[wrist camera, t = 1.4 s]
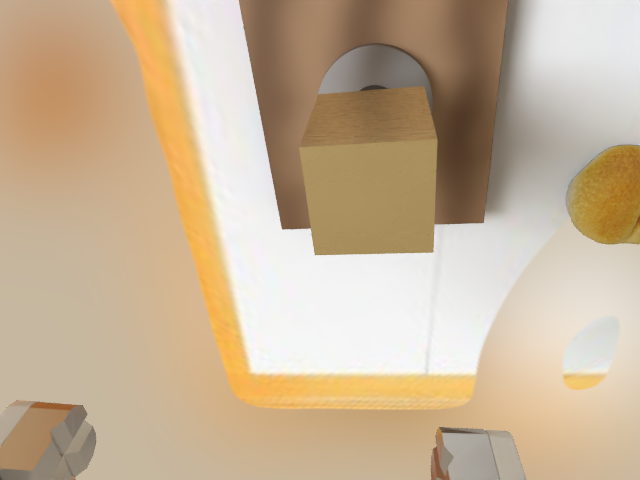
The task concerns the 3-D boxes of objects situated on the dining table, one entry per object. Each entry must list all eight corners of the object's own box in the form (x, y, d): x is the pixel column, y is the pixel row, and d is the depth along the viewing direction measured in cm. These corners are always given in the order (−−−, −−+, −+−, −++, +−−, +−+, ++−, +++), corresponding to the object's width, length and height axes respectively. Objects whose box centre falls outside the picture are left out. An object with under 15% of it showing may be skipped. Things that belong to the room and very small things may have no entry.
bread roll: (577, 140, 34) (598, 163, 30) (709, 140, 33) (745, 164, 29) (549, 233, 38) (565, 262, 35) (664, 235, 37) (691, 265, 34)
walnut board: (508, -95, 26) (562, -100, 18) (478, 206, 37) (503, 283, 30) (239, -59, 29) (184, -50, 21) (287, 213, 40) (263, 286, 32)
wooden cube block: (424, 86, 24) (437, 139, 18) (422, 181, 27) (433, 252, 21) (318, 94, 25) (299, 147, 19) (328, 185, 28) (314, 255, 22)
